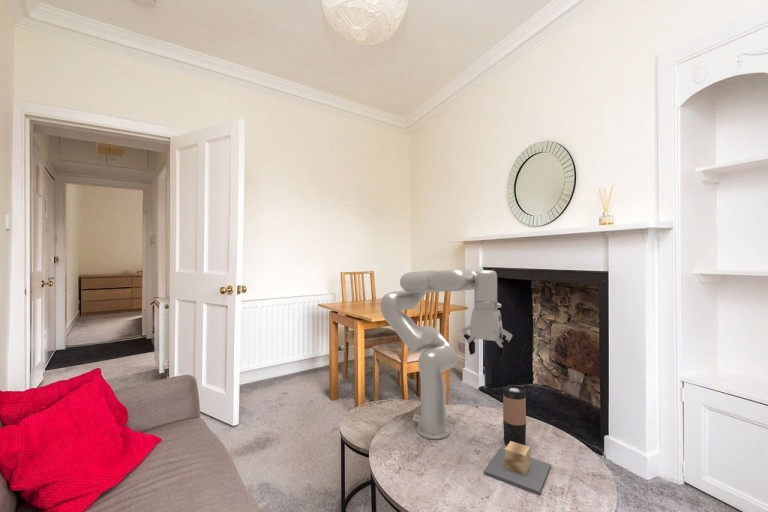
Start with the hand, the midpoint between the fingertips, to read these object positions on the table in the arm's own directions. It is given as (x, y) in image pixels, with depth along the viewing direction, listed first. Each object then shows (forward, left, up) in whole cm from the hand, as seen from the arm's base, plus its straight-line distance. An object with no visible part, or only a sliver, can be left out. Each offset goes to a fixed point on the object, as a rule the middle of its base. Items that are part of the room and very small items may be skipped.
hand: (486, 356), depth 114 cm
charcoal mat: (+11, -3, -33) cm, 35 cm away
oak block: (+11, -3, -32) cm, 34 cm away
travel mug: (+6, +12, -34) cm, 36 cm away
